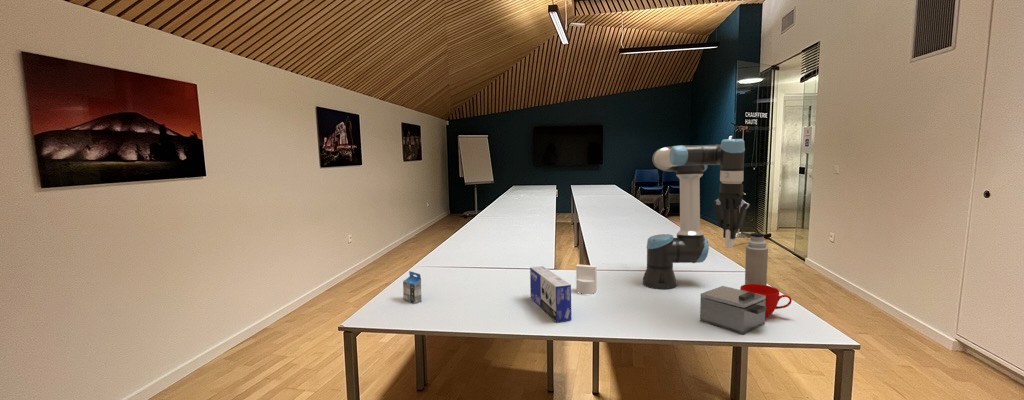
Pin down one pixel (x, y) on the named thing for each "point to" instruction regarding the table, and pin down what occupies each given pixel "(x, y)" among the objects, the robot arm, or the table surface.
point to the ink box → (551, 293)
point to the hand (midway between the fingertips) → (729, 247)
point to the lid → (733, 296)
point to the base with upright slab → (586, 279)
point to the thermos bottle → (756, 260)
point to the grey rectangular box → (732, 315)
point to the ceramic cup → (767, 296)
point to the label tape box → (412, 288)
